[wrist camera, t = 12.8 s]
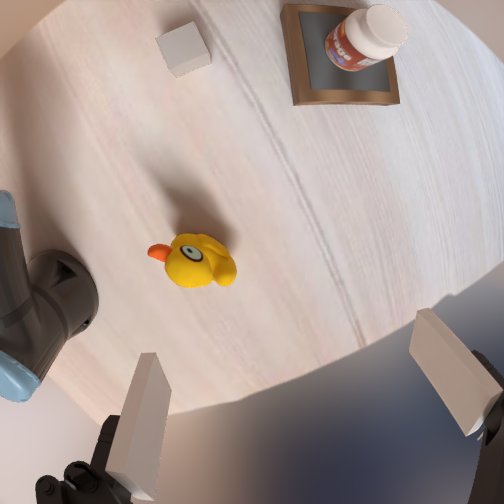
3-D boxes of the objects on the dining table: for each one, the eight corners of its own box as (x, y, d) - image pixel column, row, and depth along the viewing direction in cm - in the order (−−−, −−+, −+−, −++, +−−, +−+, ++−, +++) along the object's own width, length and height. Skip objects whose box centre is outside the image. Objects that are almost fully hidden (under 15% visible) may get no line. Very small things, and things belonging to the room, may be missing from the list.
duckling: (155, 245, 41) (135, 275, 31) (171, 212, 39) (153, 235, 30) (225, 279, 43) (224, 317, 34) (243, 249, 42) (246, 281, 33)
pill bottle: (317, 31, 27) (349, -5, 17) (361, 29, 27) (403, 0, 17) (331, 74, 30) (369, 51, 19) (374, 71, 30) (422, 53, 19)
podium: (293, 105, 35) (300, 101, 31) (279, 15, 30) (285, 3, 26) (386, 105, 35) (401, 103, 31) (371, 21, 30) (384, 12, 26)
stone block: (176, 78, 33) (168, 69, 28) (163, 49, 31) (155, 38, 26) (211, 63, 32) (208, 52, 28) (198, 34, 30) (193, 21, 26)
